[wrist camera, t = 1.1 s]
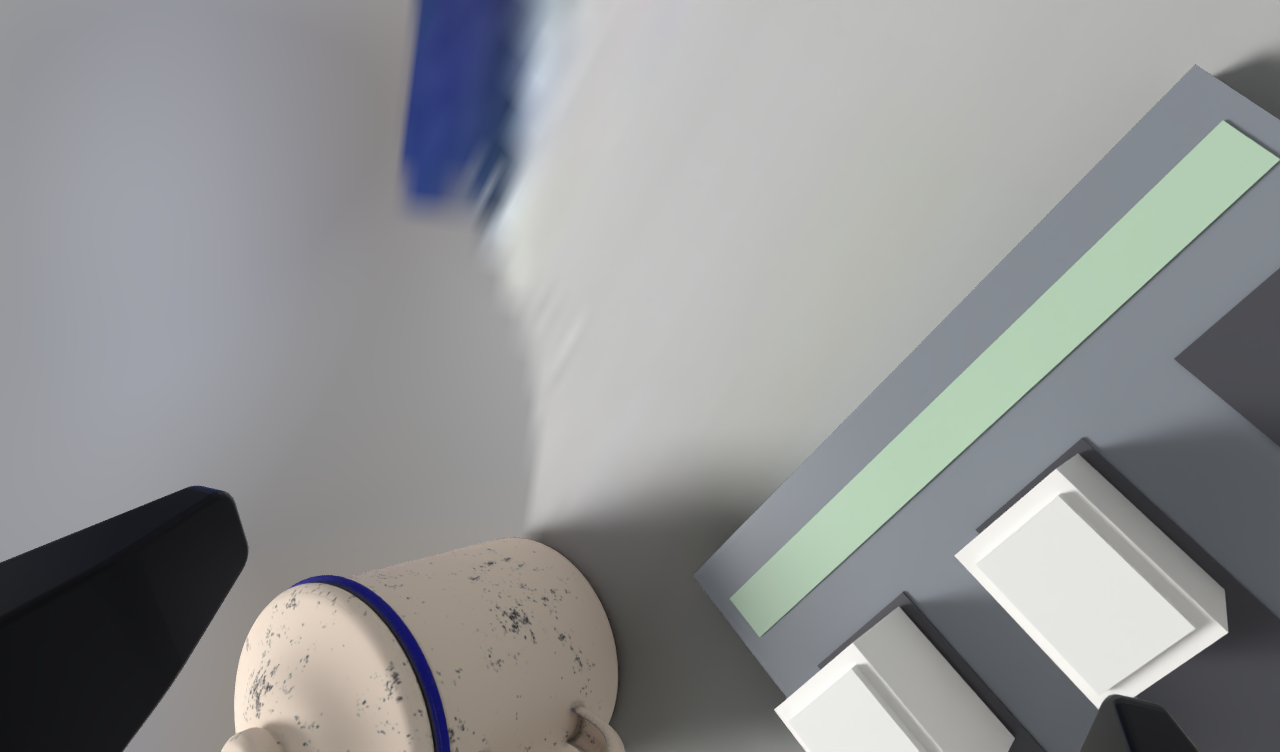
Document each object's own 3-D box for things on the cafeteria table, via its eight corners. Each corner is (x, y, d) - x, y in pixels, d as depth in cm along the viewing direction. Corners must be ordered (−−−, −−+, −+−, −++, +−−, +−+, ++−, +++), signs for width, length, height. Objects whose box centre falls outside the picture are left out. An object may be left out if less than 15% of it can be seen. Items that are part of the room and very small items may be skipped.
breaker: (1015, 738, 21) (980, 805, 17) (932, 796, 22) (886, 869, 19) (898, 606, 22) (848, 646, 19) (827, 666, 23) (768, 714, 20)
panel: (2484, 945, 12) (2647, 1019, 10) (1298, 1301, 19) (1305, 1371, 18) (1195, 82, 20) (1195, 62, 18) (715, 565, 27) (690, 576, 26)
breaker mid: (1224, 589, 18) (1228, 637, 15) (1120, 663, 19) (1103, 722, 16) (1077, 453, 20) (1053, 470, 17) (989, 529, 21) (951, 558, 18)
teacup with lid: (432, 712, 35) (135, 846, 25) (461, 500, 34) (162, 555, 24) (676, 860, 28) (400, 1119, 19) (722, 603, 27) (454, 737, 17)
